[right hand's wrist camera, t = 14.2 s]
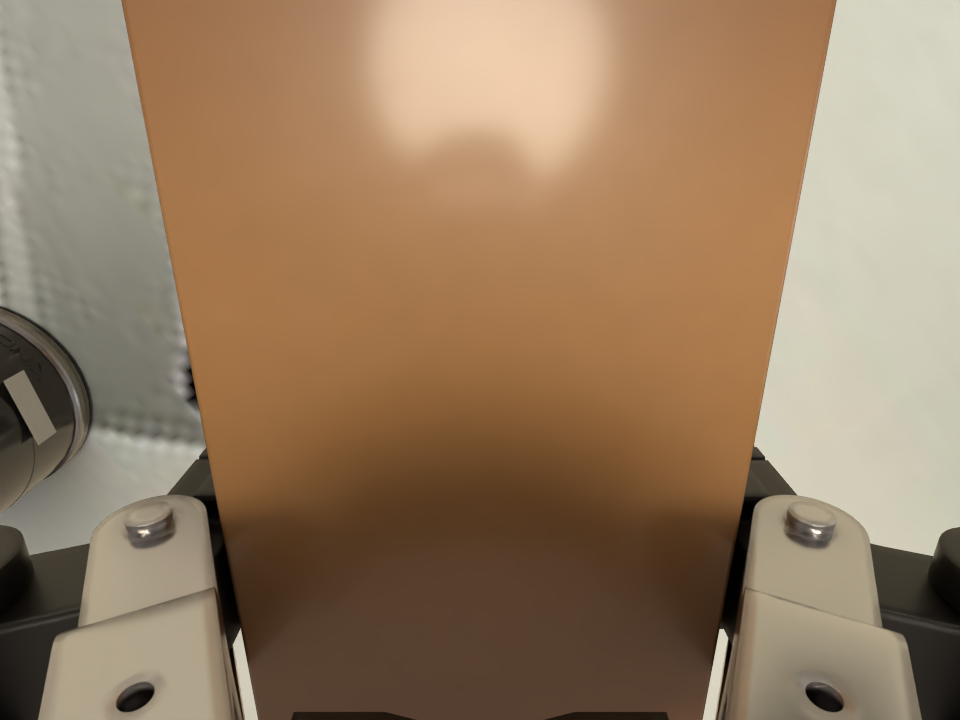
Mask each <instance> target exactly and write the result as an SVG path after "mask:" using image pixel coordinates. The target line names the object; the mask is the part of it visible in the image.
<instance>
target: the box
mask: <svg viewBox="0 0 960 720" xmlns="http://www.w3.org/2000/svg"><path fill="white" fill-rule="evenodd" d="M121 1H122V6H123V11H124V16H125V22H126V27H127V32H128V37H129V43H130V48H131V53H132V58H133V64H134V69H135V74H136V79H137V85H138V90H139V95H140V101H141V106H142V111H143V116H144V122H145V127H146V132H147V137H148V143H149V148H150V153H151V158H152V164H153V169H154V174H155V179H156V185H157V190H158V195H159V200H160V206H161V211H162V216H163V221H164V227H165V232H166V237H167V242H168V248H169V253H170V258H171V263H172V269H173V274H174V279H175V284H176V290H177V295H178V300H179V305H180V311H181V316H182V321H183V326H184V332H185V337H186V342H187V347H188V353H189V358H190V363H191V368H192V374H193V379H194V384H195V389H196V395H197V400H198V405H199V410H200V416H201V421H202V426H203V431H204V437H205V442H206V447H207V452H208V458H209V463H210V468H211V474H212V479H213V484H214V489H215V495H216V500H217V505H218V510H219V516H220V521H221V526H222V531H223V537H224V542H225V547H226V552H227V558H228V563H229V568H230V573H231V579H232V584H233V589H234V594H235V600H236V605H237V610H238V615H239V621H240V626H241V631H242V636H243V642H244V647H245V652H246V657H247V663H248V668H249V673H250V678H251V684H252V689H253V694H254V699H255V705H256V710H257V715H258V720H291V718H292V715H293V712H388V713H392V714H396V715H400V716H403V717H407V718H411V719H415V720H545V719H549V718H553V717H557V716H560V715H564V714H568V713H572V712H667V715H668V718H669V720H702V719H703V714H704V709H705V703H706V698H707V693H708V687H709V682H710V677H711V671H712V666H713V660H714V655H715V650H716V644H717V639H718V634H719V628H720V623H721V618H722V612H723V607H724V601H725V596H726V591H727V585H728V580H729V575H730V569H731V564H732V559H733V553H734V548H735V542H736V537H737V532H738V526H739V521H740V516H741V510H742V505H743V500H744V494H745V489H746V483H747V478H748V473H749V467H750V462H751V457H752V451H753V446H754V441H755V435H756V430H757V425H758V419H759V414H760V408H761V403H762V398H763V392H764V387H765V382H766V376H767V371H768V366H769V360H770V355H771V349H772V344H773V339H774V333H775V328H776V323H777V317H778V312H779V307H780V301H781V296H782V290H783V285H784V280H785V274H786V269H787V264H788V258H789V253H790V248H791V242H792V237H793V231H794V226H795V221H796V215H797V210H798V205H799V199H800V194H801V189H802V183H803V178H804V172H805V167H806V162H807V156H808V151H809V146H810V140H811V135H812V130H813V124H814V119H815V113H816V108H817V103H818V97H819V92H820V87H821V81H822V76H823V71H824V65H825V60H826V55H827V49H828V44H829V38H830V33H831V28H832V22H833V17H834V12H835V6H836V1H837V0H121Z"/></svg>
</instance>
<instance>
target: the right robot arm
mask: <svg viewBox="0 0 960 720" xmlns="http://www.w3.org/2000/svg"><path fill="white" fill-rule="evenodd" d="M89 420H90V408H89V401H88V396H87V393H86V389H85V386H84V384H83V381H82V379H81V377H80V375H79V373H78V371H77V370H76V368H75V366H74V365H73V363H72V362H71V360H70V359H69V357H68V356H67V355H66V354H65V353H64V351H63V350H62V349H61V348H60V347H59V346H58V345H57V344H56V343H55V342H54V341H53V340H52V339H51V338H50V337H49V336H48V335H46V334H45V333H44V332H43V331H41V330H40V329H39V328H37V327H36V326H34V325H33V324H31V323H30V322H28V321H26V320H25V319H23V318H21V317H19V316H17V315H15V314H13V313H11V312H8V311H6V310H3V309H0V514H1V513H2V512H3V511H5V510H6V509H7V508H8V507H10V506H11V505H12V504H14V503H15V502H16V501H17V500H18V499H20V498H21V497H22V496H23V495H25V494H26V493H27V492H28V491H29V490H31V489H32V488H33V487H34V486H35V485H37V484H38V483H39V482H40V481H42V480H43V479H45V478H47V477H49V476H50V475H52V474H53V473H55V472H56V471H57V470H58V469H60V468H61V467H62V466H63V465H64V464H66V463H67V462H68V461H69V460H70V459H71V458H73V457H74V455H75V454H76V453H77V452H78V451H79V449H80V448H81V446H82V444H83V442H84V440H85V438H86V435H87V432H88V427H89ZM240 628H241V626H240V621H239V615H238V610H237V605H236V600H235V594H234V589H233V584H232V579H231V573H230V568H229V563H228V558H227V552H226V547H225V542H224V537H223V531H222V526H221V521H220V516H219V510H218V505H217V500H216V495H215V489H214V484H213V479H212V474H211V468H210V463H209V458H208V452H207V448H206V449H205V450H204V451H203V452H202V454H201V455H200V456H199V460H196V461H195V462H194V463H193V464H192V465H191V467H190V468H189V469H188V470H187V471H186V473H185V474H184V475H183V476H182V477H181V479H180V480H179V481H178V482H177V483H176V485H175V486H174V487H173V488H172V489H171V491H170V492H169V493H168V494H167V495H164V496H157V497H152V498H148V499H144V500H141V501H138V502H135V503H132V504H130V505H128V506H125V507H123V508H121V509H119V510H118V511H116V512H114V513H113V514H111V515H110V516H108V517H107V518H106V519H104V520H103V521H102V522H101V523H100V524H99V525H98V526H97V527H96V529H95V530H94V532H93V534H92V537H91V541H90V544H85V545H81V546H76V547H70V548H65V549H60V550H55V551H50V552H45V553H40V554H34V555H29V553H28V550H27V547H26V544H25V541H24V538H23V535H22V534H21V532H20V531H18V530H17V529H15V528H13V527H9V526H3V525H0V720H245V716H244V709H243V703H242V696H241V690H240V683H239V677H238V670H237V664H236V658H235V653H234V648H233V643H234V641H235V639H236V637H237V635H238V632H239V630H240ZM719 629H724V630H725V632H726V634H727V636H728V643H727V648H726V653H725V658H724V664H723V670H722V677H721V683H720V690H719V696H718V703H717V709H716V716H715V720H960V527H958V528H952V529H949V530H947V531H945V532H944V533H942V535H941V536H940V538H939V541H938V544H937V547H936V550H935V553H934V556H929V555H924V554H919V553H913V552H908V551H903V550H898V549H893V548H888V547H883V546H879V545H874V544H870V541H869V537H868V534H867V532H866V530H865V529H864V527H863V526H862V525H861V524H860V523H859V522H858V521H857V520H856V519H854V518H853V517H852V516H850V515H849V514H847V513H846V512H844V511H842V510H841V509H839V508H837V507H835V506H832V505H830V504H828V503H825V502H822V501H819V500H816V499H812V498H808V497H803V496H797V494H796V493H795V492H794V491H793V490H792V488H791V487H790V486H789V485H788V484H787V483H786V481H785V480H784V479H783V478H782V477H781V475H780V474H779V473H778V472H777V471H776V469H775V468H774V467H773V466H772V465H771V464H770V462H769V461H768V460H765V456H764V455H763V454H762V453H761V452H760V451H759V449H758V448H757V447H754V446H753V451H752V457H751V462H750V467H749V473H748V478H747V483H746V489H745V494H744V500H743V505H742V510H741V516H740V521H739V526H738V532H737V537H736V542H735V548H734V553H733V559H732V564H731V569H730V575H729V580H728V585H727V591H726V596H725V601H724V607H723V612H722V618H721V623H720V628H719ZM291 720H415V719H411V718H407V717H403V716H400V715H396V714H392V713H388V712H293V715H292V718H291ZM545 720H669V718H668V715H667V712H572V713H568V714H564V715H560V716H557V717H553V718H549V719H545Z"/></svg>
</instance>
